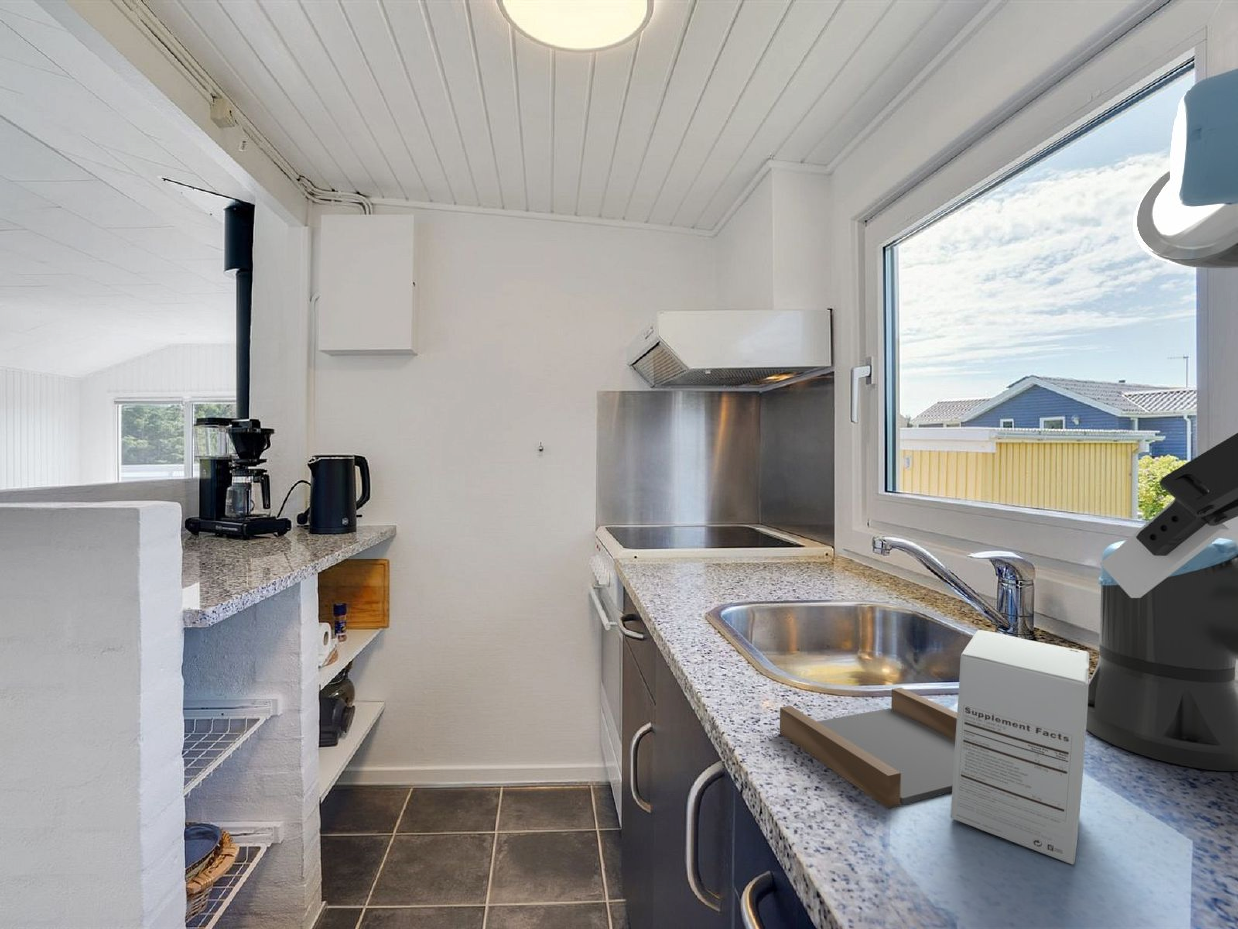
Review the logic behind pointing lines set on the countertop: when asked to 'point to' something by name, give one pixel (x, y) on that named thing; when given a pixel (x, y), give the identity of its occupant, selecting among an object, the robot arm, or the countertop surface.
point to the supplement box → (1021, 741)
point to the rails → (854, 760)
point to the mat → (902, 750)
